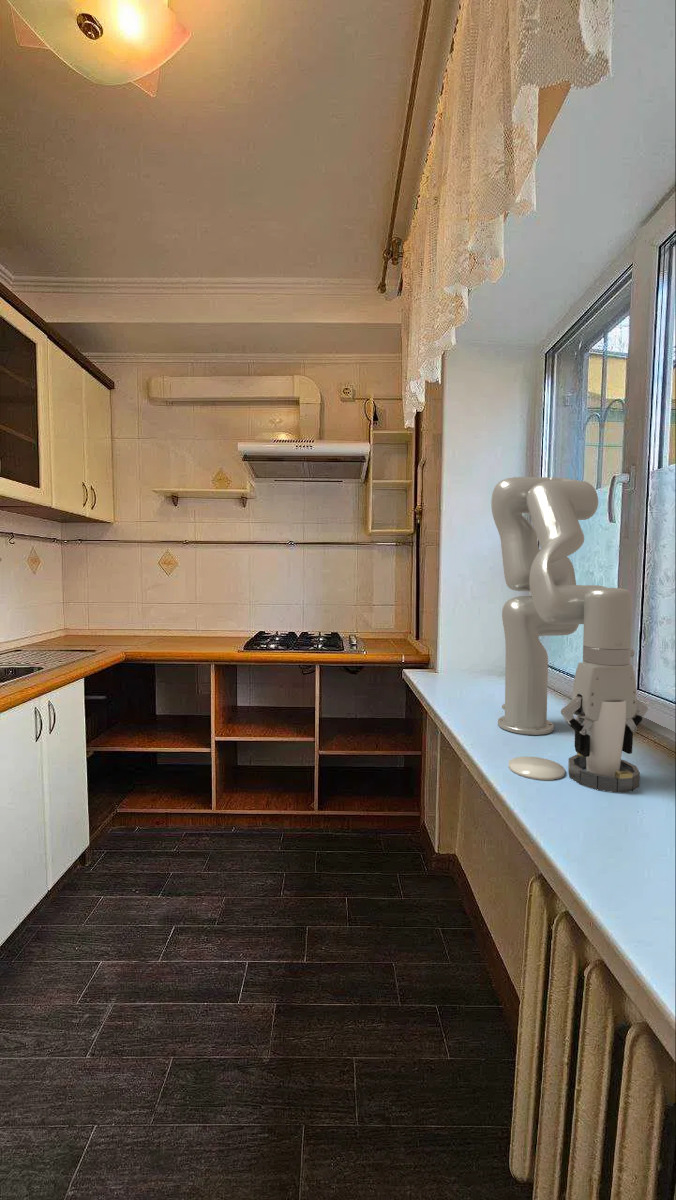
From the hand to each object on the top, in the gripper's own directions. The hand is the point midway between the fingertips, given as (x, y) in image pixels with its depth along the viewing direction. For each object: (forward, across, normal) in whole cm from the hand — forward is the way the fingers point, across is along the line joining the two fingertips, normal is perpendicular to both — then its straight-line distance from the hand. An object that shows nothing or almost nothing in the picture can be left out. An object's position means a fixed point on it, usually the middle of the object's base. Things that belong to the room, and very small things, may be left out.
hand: (603, 752), depth 91 cm
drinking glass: (+5, 0, 0) cm, 5 cm away
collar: (+5, 0, 0) cm, 5 cm away
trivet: (+5, +10, -6) cm, 12 cm away
